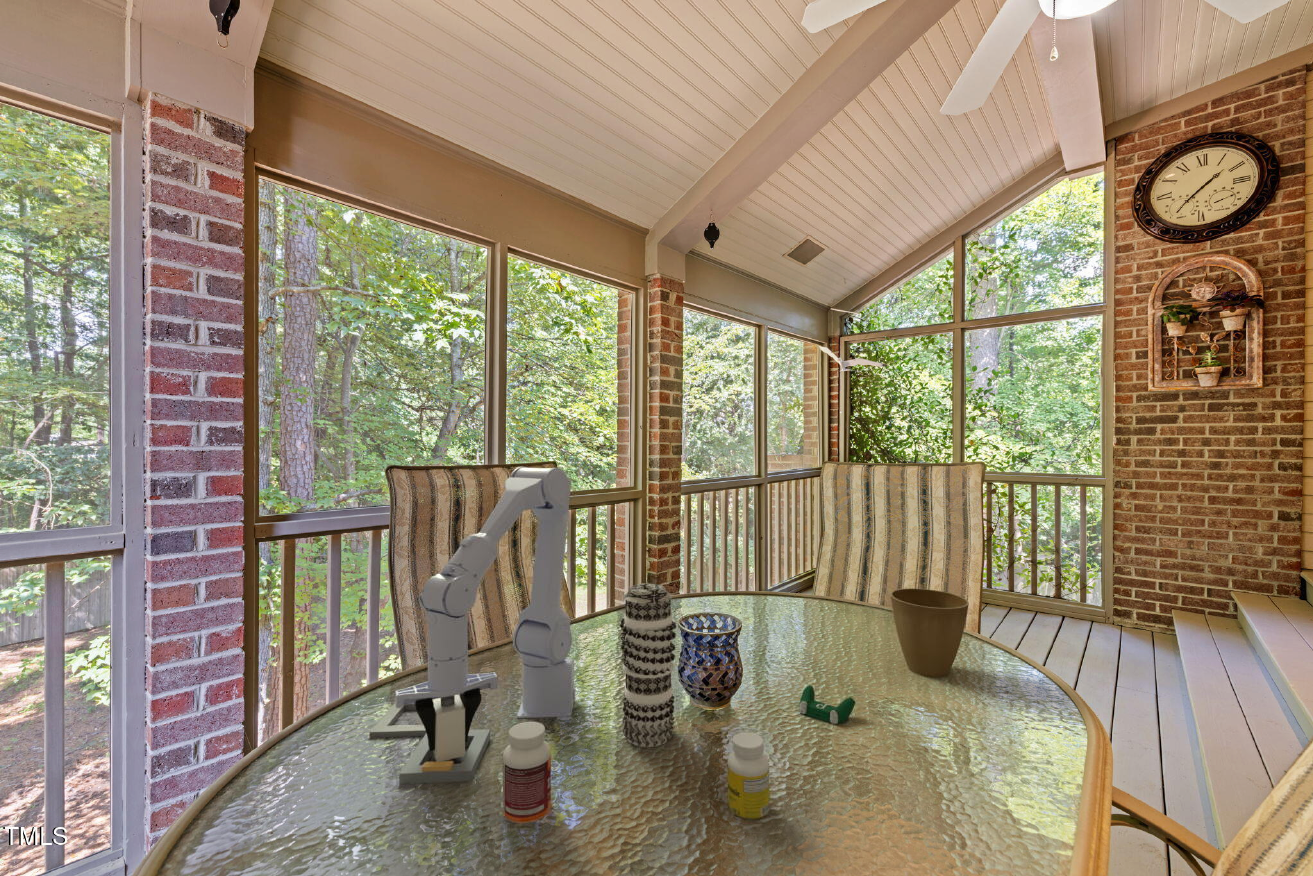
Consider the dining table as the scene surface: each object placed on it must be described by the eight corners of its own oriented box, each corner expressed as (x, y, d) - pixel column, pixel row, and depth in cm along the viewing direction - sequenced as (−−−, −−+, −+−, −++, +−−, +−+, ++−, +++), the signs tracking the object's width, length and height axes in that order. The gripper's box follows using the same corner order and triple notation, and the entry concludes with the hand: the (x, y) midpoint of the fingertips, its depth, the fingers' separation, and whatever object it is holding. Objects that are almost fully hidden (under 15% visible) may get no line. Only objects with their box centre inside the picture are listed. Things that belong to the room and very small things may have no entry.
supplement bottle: (724, 802, 78) (723, 730, 78) (763, 800, 79) (763, 728, 79) (732, 829, 73) (732, 751, 73) (774, 826, 73) (774, 749, 73)
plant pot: (891, 681, 118) (890, 602, 118) (891, 656, 131) (890, 585, 131) (974, 693, 112) (973, 610, 112) (964, 665, 126) (964, 591, 126)
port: (490, 741, 94) (490, 725, 94) (471, 785, 82) (471, 766, 82) (427, 743, 94) (427, 727, 94) (399, 787, 82) (399, 769, 82)
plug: (458, 737, 92) (458, 687, 92) (464, 755, 87) (464, 701, 87) (431, 743, 90) (431, 692, 90) (436, 762, 85) (436, 707, 85)
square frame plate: (452, 704, 108) (452, 698, 108) (431, 737, 96) (431, 730, 96) (397, 706, 107) (397, 699, 107) (369, 739, 95) (369, 732, 95)
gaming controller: (808, 703, 108) (792, 715, 103) (807, 683, 108) (792, 694, 103) (856, 718, 102) (843, 732, 97) (856, 697, 102) (843, 709, 97)
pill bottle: (558, 818, 75) (558, 733, 75) (512, 836, 72) (512, 747, 72) (540, 794, 80) (540, 714, 80) (496, 809, 77) (496, 726, 77)
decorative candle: (657, 760, 89) (657, 597, 89) (609, 744, 94) (608, 589, 94) (686, 734, 96) (686, 584, 97) (640, 720, 101) (640, 577, 101)
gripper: (490, 638, 95) (490, 721, 95) (393, 654, 88) (393, 743, 88) (500, 652, 89) (500, 741, 89) (397, 670, 82) (397, 766, 82)
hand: (447, 743), depth 88 cm, fingers closed on plug, 4 cm apart
